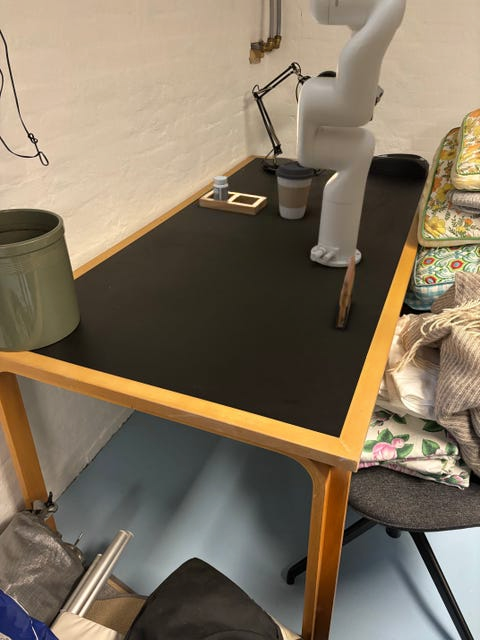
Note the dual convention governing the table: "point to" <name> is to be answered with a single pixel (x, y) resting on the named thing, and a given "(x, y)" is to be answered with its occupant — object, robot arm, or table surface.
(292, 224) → the table surface
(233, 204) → the holder
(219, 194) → the pill bottle
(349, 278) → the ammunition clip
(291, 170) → the coffee cup
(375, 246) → the table surface
